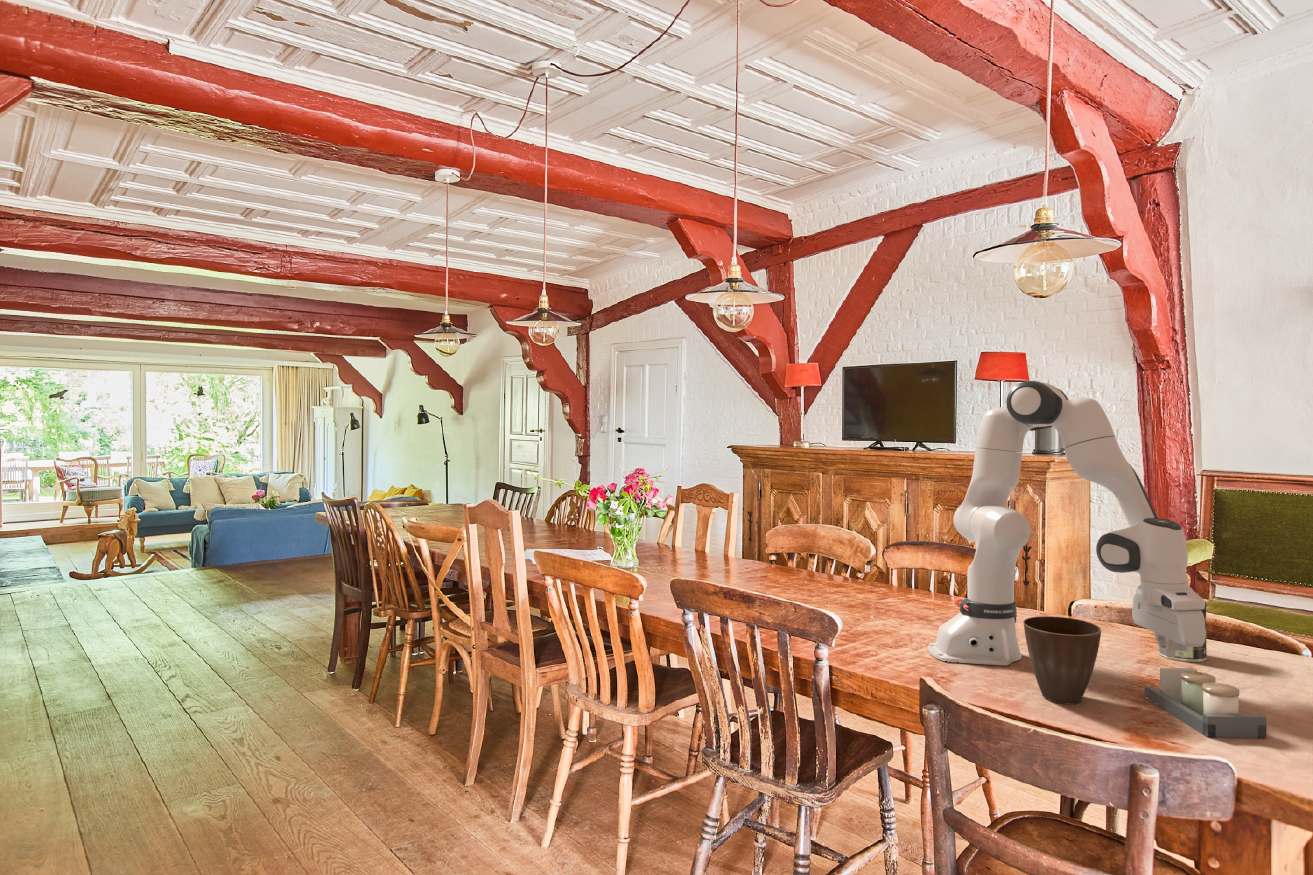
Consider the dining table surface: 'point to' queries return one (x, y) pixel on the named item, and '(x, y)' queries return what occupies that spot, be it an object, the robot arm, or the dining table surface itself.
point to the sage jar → (1194, 689)
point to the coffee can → (1191, 649)
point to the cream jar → (1220, 698)
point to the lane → (1211, 719)
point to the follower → (1172, 682)
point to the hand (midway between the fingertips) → (1167, 655)
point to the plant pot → (1062, 655)
